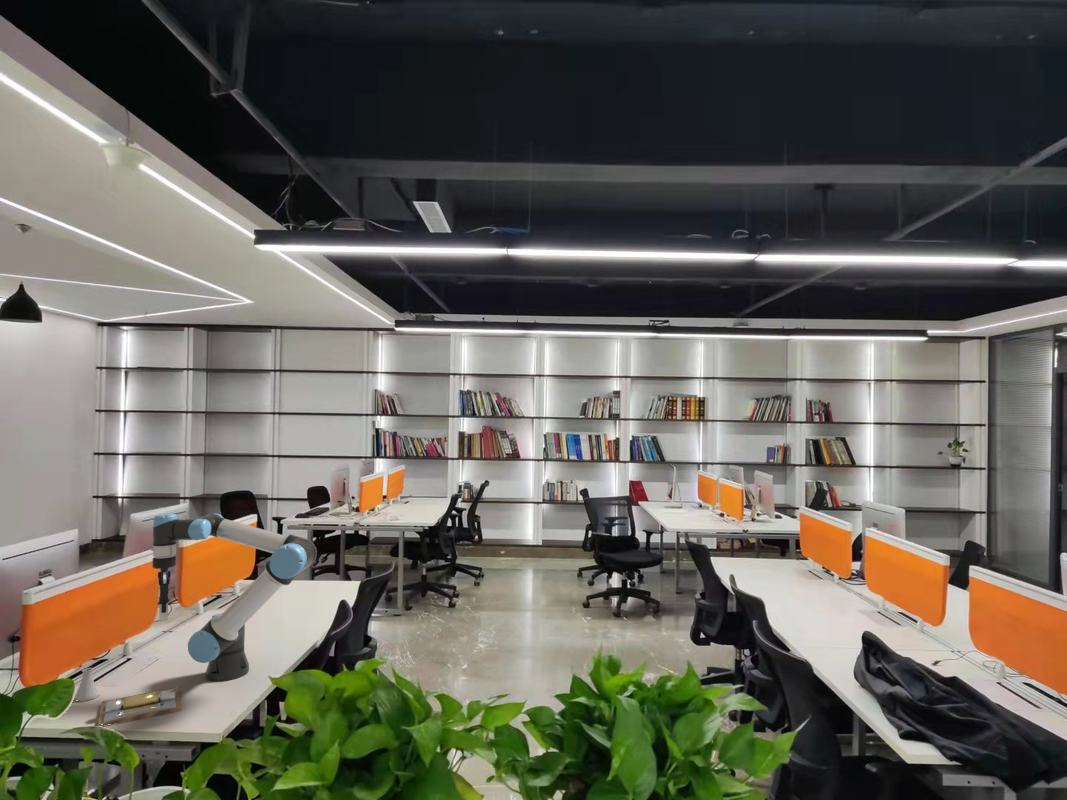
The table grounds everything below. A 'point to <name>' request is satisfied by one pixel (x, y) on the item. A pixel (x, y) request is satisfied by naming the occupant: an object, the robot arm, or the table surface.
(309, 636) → the table surface
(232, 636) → the robot arm
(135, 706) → the gold silver metal bar
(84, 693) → the flask
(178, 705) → the board
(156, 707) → the fixed leaf
